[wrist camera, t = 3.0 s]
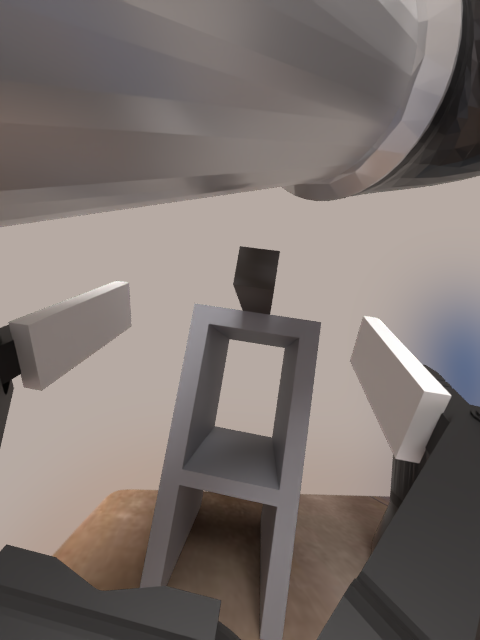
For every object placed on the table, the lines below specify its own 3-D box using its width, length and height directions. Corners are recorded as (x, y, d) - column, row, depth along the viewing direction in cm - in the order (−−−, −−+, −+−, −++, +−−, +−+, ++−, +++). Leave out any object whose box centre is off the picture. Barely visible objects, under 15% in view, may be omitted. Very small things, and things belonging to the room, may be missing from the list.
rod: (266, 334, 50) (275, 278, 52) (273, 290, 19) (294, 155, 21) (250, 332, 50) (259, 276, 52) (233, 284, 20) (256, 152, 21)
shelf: (273, 522, 43) (297, 337, 47) (281, 644, 24) (321, 320, 29) (189, 503, 45) (220, 325, 49) (136, 604, 26) (195, 301, 30)
